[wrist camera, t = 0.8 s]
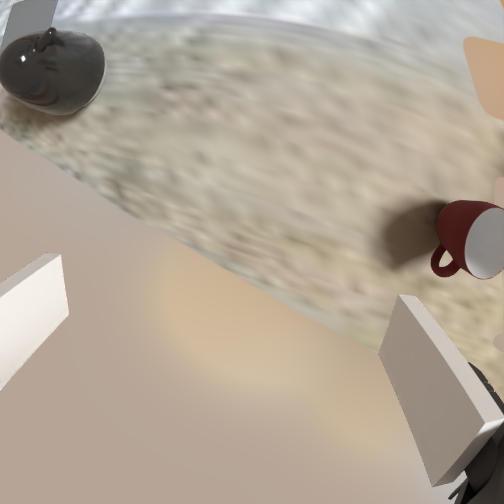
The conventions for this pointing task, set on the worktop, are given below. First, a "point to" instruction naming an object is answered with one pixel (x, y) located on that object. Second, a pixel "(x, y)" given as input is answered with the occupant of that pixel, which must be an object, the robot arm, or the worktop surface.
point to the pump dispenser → (53, 70)
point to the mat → (28, 19)
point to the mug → (470, 239)
